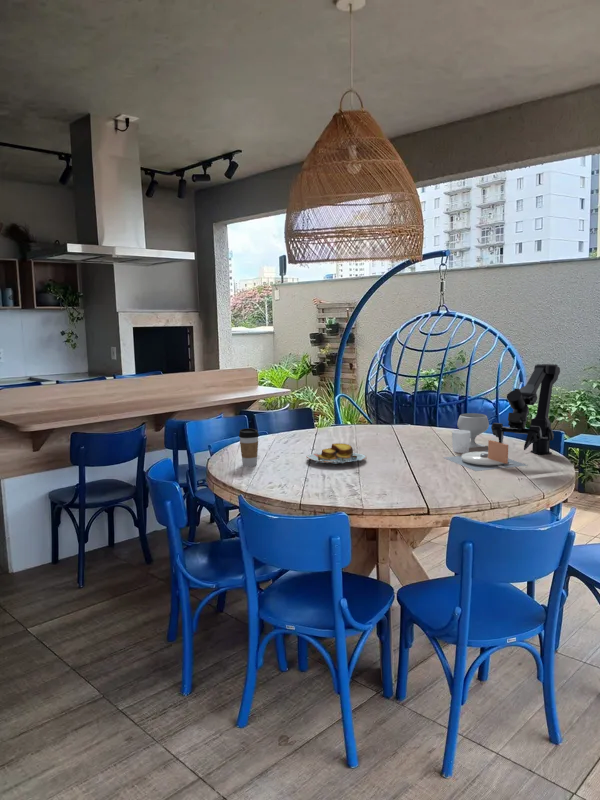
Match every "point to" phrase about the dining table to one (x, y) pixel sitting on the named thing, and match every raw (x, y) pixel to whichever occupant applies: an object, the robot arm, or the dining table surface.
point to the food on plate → (337, 454)
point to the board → (484, 467)
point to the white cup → (461, 441)
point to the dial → (488, 455)
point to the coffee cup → (249, 446)
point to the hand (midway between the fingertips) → (512, 448)
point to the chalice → (473, 426)
